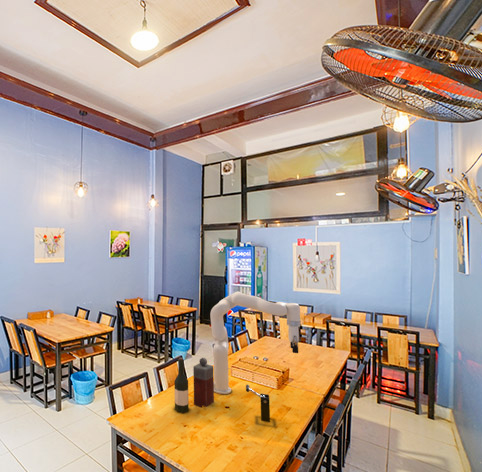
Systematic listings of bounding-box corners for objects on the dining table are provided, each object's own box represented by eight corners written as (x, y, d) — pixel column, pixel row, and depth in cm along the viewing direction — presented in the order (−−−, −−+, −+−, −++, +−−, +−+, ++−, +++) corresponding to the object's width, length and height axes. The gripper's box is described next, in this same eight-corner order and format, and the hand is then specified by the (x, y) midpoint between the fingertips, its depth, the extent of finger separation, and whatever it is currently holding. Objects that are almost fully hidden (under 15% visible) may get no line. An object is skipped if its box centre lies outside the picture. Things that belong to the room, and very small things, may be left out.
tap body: (256, 423, 169) (256, 397, 170) (256, 416, 177) (255, 391, 178) (274, 426, 166) (274, 400, 167) (273, 419, 174) (273, 394, 174)
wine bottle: (173, 406, 189) (172, 356, 190) (186, 405, 190) (186, 355, 191) (176, 413, 181) (175, 360, 182) (190, 412, 181) (189, 360, 183)
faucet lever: (245, 391, 173) (247, 387, 173) (245, 386, 179) (247, 383, 179) (266, 405, 169) (268, 401, 169) (266, 400, 175) (268, 396, 174)
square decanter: (216, 402, 193) (215, 357, 194) (206, 409, 185) (205, 361, 186) (203, 398, 199) (202, 353, 201) (193, 404, 191) (193, 358, 193)
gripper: (285, 319, 207) (286, 346, 206) (288, 325, 190) (289, 354, 190) (298, 320, 204) (299, 347, 203) (302, 326, 188) (303, 355, 187)
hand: (294, 350), depth 196 cm, fingers open, 9 cm apart
